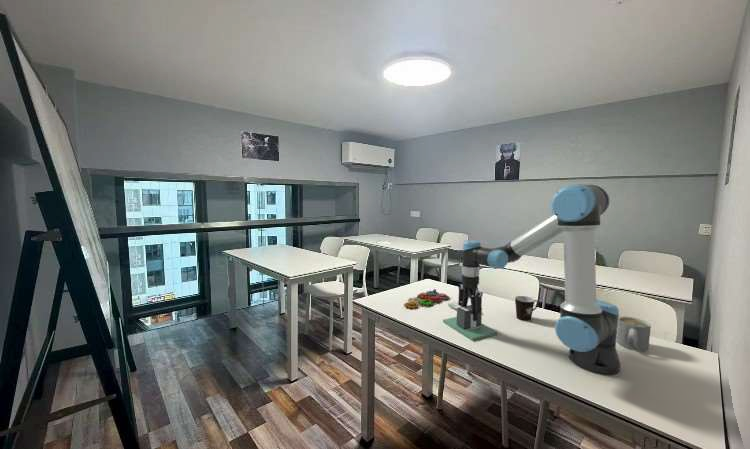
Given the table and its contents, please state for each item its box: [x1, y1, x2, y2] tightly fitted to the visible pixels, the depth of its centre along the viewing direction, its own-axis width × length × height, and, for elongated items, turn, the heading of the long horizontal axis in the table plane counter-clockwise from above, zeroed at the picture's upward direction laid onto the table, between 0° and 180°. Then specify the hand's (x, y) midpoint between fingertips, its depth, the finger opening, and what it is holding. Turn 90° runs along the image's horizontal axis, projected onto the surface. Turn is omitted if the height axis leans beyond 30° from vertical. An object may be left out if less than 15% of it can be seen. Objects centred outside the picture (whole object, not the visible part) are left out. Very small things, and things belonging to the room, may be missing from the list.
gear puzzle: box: [403, 288, 451, 310], centre depth 172 cm, size 31×16×4 cm, turn 130°
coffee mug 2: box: [616, 316, 652, 353], centre depth 121 cm, size 13×10×10 cm
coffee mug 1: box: [514, 295, 540, 322], centre depth 148 cm, size 12×9×10 cm
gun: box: [447, 300, 461, 310], centre depth 157 cm, size 18×3×10 cm
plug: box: [456, 304, 483, 329], centre depth 138 cm, size 5×10×8 cm, turn 114°
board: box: [442, 316, 498, 342], centre depth 138 cm, size 20×14×5 cm
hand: (468, 324), depth 138 cm, fingers closed on plug, 5 cm apart
